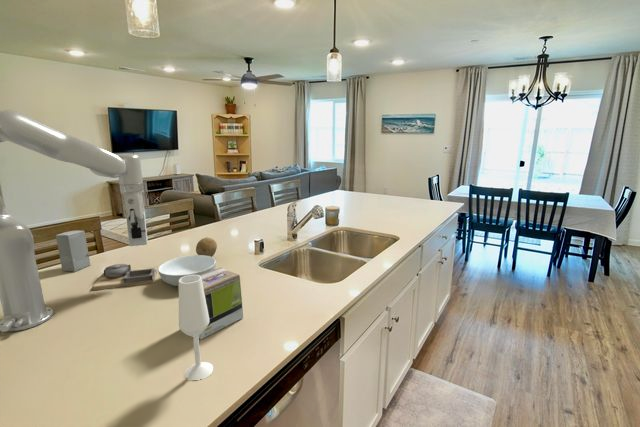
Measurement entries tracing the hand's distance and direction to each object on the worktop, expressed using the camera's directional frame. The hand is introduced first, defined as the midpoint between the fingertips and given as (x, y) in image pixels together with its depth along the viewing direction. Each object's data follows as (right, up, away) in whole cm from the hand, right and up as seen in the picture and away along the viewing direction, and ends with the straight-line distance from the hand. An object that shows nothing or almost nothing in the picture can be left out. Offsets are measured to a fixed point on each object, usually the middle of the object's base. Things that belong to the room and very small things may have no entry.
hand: (138, 235), depth 127 cm
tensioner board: (-7, -18, +5) cm, 20 cm away
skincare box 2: (0, -3, +1) cm, 4 cm away
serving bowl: (+18, -18, +4) cm, 26 cm away
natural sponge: (+17, -13, +27) cm, 34 cm away
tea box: (+37, -25, -25) cm, 51 cm away
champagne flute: (+40, -30, -46) cm, 68 cm away
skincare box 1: (-35, -15, +17) cm, 42 cm away
